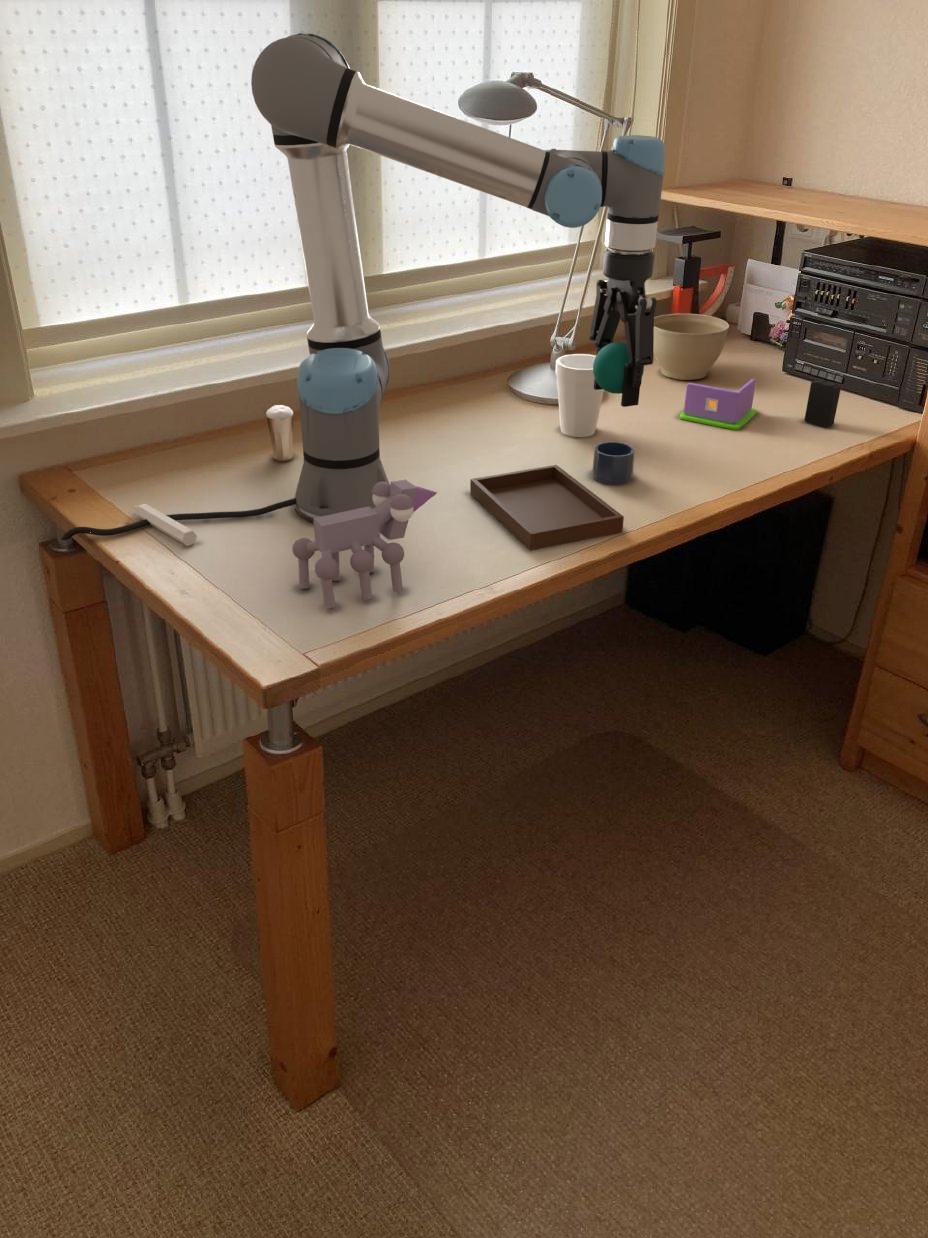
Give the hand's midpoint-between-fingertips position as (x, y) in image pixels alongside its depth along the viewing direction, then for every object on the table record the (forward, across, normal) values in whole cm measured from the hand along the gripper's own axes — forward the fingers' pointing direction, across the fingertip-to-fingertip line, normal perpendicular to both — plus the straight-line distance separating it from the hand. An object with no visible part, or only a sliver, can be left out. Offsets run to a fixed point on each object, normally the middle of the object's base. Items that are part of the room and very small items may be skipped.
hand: (615, 396), depth 170 cm
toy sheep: (+15, -19, +48) cm, 54 cm away
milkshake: (+15, +29, +48) cm, 58 cm away
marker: (+15, +10, +72) cm, 74 cm away
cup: (+14, 0, -1) cm, 14 cm away
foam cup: (+14, +21, -6) cm, 26 cm away
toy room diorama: (+14, +18, -35) cm, 42 cm away
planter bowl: (+14, +42, -43) cm, 62 cm away
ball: (-5, 0, 0) cm, 5 cm away
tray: (+14, -8, +16) cm, 23 cm away
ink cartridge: (+14, +7, -50) cm, 52 cm away
